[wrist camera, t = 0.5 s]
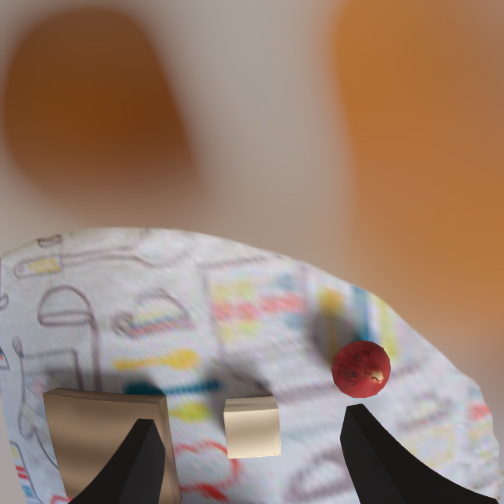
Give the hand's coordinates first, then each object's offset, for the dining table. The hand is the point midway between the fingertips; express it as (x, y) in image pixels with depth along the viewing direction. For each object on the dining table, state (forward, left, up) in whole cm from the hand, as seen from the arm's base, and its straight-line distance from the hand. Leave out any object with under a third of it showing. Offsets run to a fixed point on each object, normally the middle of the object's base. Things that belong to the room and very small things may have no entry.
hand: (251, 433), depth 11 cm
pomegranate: (-2, -11, -23) cm, 25 cm away
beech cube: (-7, 0, -22) cm, 24 cm away
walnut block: (-11, +16, -23) cm, 30 cm away
